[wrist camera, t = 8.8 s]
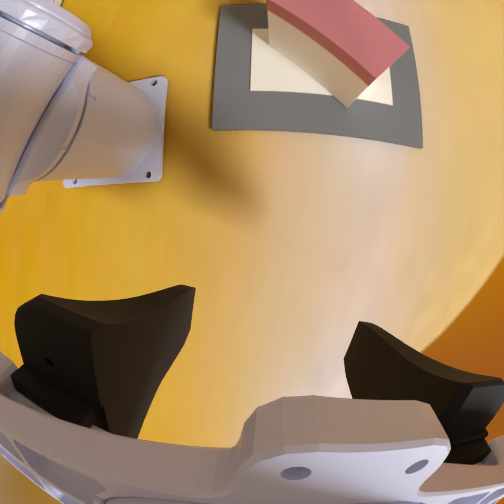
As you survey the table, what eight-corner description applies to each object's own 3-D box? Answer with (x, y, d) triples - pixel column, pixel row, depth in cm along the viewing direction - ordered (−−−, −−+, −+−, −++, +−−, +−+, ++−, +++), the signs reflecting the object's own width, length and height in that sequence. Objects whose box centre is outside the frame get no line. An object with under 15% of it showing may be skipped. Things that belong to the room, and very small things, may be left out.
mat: (212, 130, 18) (211, 129, 17) (221, 8, 15) (220, 4, 15) (420, 148, 17) (423, 148, 16) (406, 28, 14) (408, 25, 14)
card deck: (346, 108, 16) (376, 78, 10) (268, 45, 15) (265, -2, 10) (375, 80, 15) (410, 47, 10) (300, 21, 15) (307, -28, 9)
